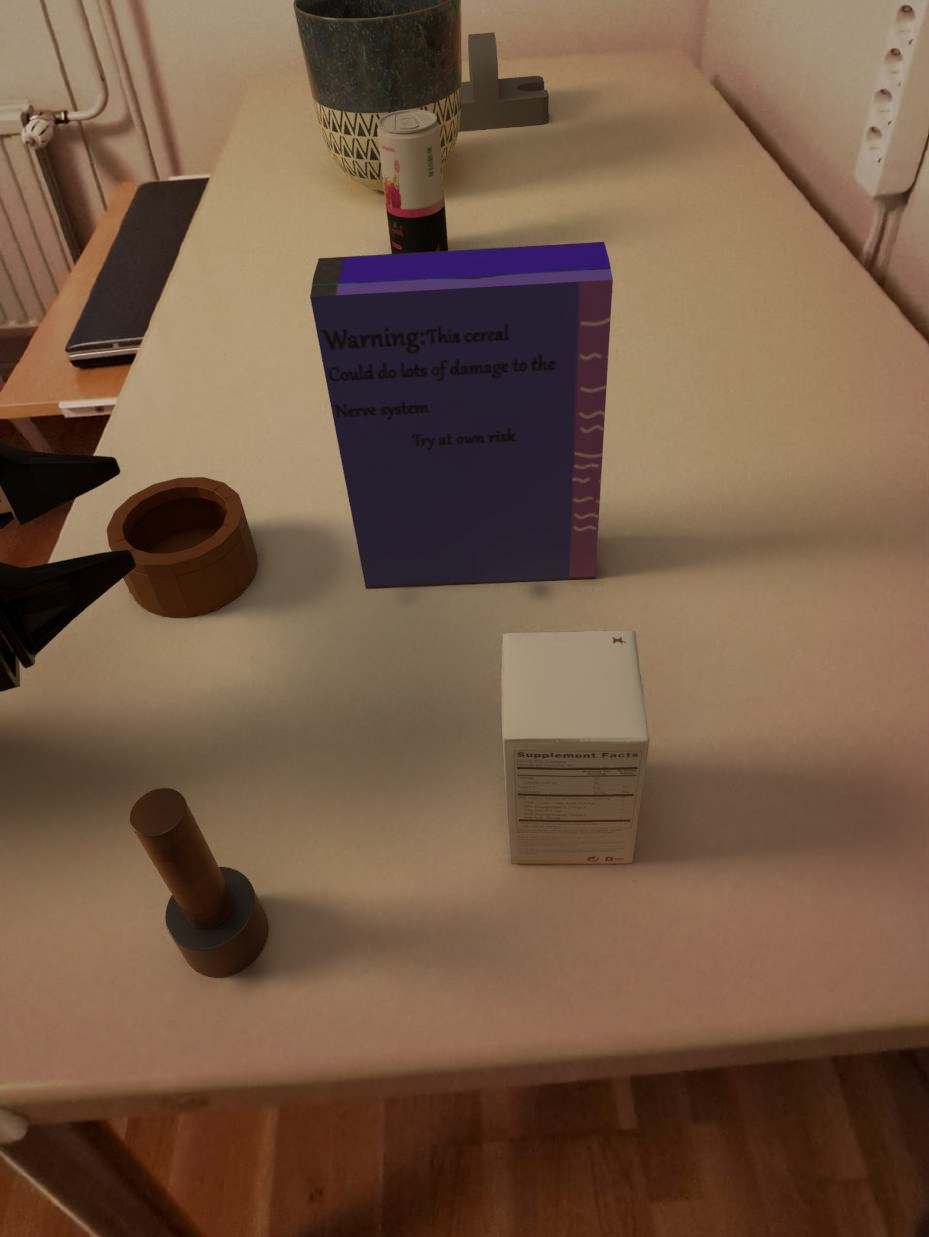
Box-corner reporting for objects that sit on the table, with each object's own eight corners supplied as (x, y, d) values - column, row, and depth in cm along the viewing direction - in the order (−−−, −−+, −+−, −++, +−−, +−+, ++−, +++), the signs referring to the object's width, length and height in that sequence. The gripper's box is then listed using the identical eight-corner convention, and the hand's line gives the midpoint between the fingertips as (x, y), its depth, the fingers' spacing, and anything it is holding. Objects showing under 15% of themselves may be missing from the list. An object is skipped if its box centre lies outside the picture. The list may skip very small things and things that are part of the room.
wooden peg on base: (189, 990, 51) (110, 872, 41) (177, 913, 54) (100, 787, 44) (276, 959, 52) (217, 836, 42) (259, 884, 55) (201, 755, 45)
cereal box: (589, 536, 74) (604, 238, 57) (595, 578, 71) (613, 276, 53) (369, 546, 75) (318, 255, 57) (365, 588, 71) (309, 293, 54)
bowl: (138, 633, 70) (113, 580, 66) (124, 550, 76) (101, 497, 72) (269, 595, 72) (253, 541, 68) (245, 517, 78) (229, 464, 74)
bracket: (549, 123, 136) (549, 39, 128) (425, 134, 136) (418, 50, 128) (541, 101, 142) (541, 19, 135) (423, 111, 142) (417, 30, 135)
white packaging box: (506, 762, 60) (501, 627, 51) (624, 762, 59) (639, 625, 50) (505, 867, 55) (499, 739, 45) (634, 868, 54) (653, 738, 45)
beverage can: (396, 275, 106) (380, 134, 95) (388, 250, 111) (372, 113, 100) (453, 266, 107) (443, 126, 96) (443, 242, 111) (432, 105, 100)
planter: (447, 219, 116) (433, 19, 100) (301, 210, 120) (266, 18, 104) (486, 158, 128) (478, -28, 113) (353, 152, 133) (328, -28, 117)
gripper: (-284, 585, 40) (90, 493, 43) (-220, 369, 52) (67, 309, 55) (-147, 741, 48) (160, 654, 51) (-119, 522, 60) (126, 462, 63)
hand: (125, 508), depth 55 cm, fingers open, 9 cm apart
